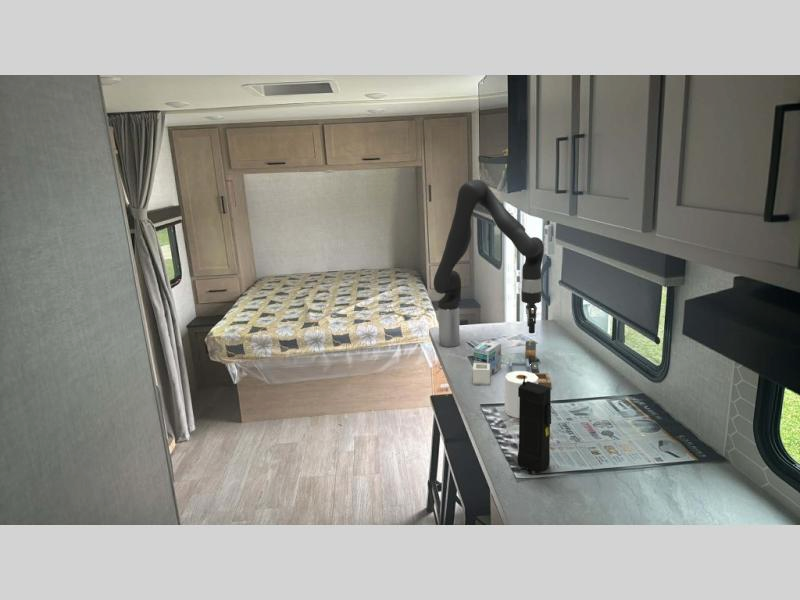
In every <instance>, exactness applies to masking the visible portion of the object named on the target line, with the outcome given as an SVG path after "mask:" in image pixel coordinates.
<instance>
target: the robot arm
mask: <svg viewBox="0 0 800 600" xmlns="http://www.w3.org/2000/svg"><path fill="white" fill-rule="evenodd" d="M478 204H479V205H481V207H484V208H485V210H487V211H488V212H489V214H490V215H491V217H492V218H493V221H494V223H495V225H496V227H497V228H498V229H499V230H500V231H501V233H503V234H504V235H505V236H506V237H507V238H508V239H509V241H511V242H512V244H513V245H514V246H515V248H516V250H517V251H518V252H519V253H520V254H521V255H522V256H524V257H525V259H524V260H525V261H524V263H523V265H522V269H521V270H522V277H521V279H522V280H521V291H520V292H521V295H520V296H521V299H520V300H521V302H522V303H523V304H526V305H525V314H526V318H527V319H526V320H527V323H526V324H527V327H528V333H529V334H535V332H536V324H537V311H538V310H537V309H538V307H537V305H536V304H539V303H541V302H542V292H543V291H542V263H543V258H544V252H545V248H544V242H543V241H542V239H541V238H539V237H535V236H532V237H531V236H529V234H528V233H527V232H526V228H525V226H524V225H523V224H522V223H521V222H520V221H518V220H517V218H515V217H514V216H513V215H512V214H511V213H510V211H508V210H507V209H506V207H505V206H504V205H503V204H502V203H501V201H500V200H499V199H498V198H497V197H496V196H495V194H494V192H493V191H492V190H491V188H490V187H489V186H488V185H487V184H486V183H485V182H484V181H483V180H481V179H474V180H469V181H468V182H464V183H463V184H462V185H461V186H460V188H459V190H458V194H457V199H456V206H455V210H454V214H453V217H452V222H451V226H450V228H449V232H448V236H447V238H446V243H445V247H444V250H443V252H442V257H441V259H440V263H439V264H438V267H437V270H436V271H435V275H434V277H433V288H434V290H435V292H436V293H438V294H443V296H442V298H440V299H439V300H438V302H437V312H438V316H437V317H438V343H439V345H440V346H441V347H445V348H453V347H457V346H459V345H460V342H461V341H460V340H461V339H460V336H461V335H460V302H461V295H462V281H461V279H462V278H461V276H460V274H459V272H458V271H456V270H453V269H454V268H455V266H456V265H457V263H459V261H460V260H461V259H462V258H463V257H464V255H466V253H467V251H468V249H469V246H470V242H471V239H472V226H471V218H472V215H473V213H474V210H475V208H476V205H478Z"/></svg>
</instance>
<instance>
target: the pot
mask: <svg viewBox="0 0 800 600" xmlns="http://www.w3.org/2000/svg"><path fill="white" fill-rule="evenodd" d="M472 385H474V386H475V385H476V386H490V385H491V376H490V364H484V363H474V362H473V366H472Z"/></svg>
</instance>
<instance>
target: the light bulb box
mask: <svg viewBox="0 0 800 600" xmlns="http://www.w3.org/2000/svg"><path fill="white" fill-rule="evenodd" d="M473 363H484V364H490V377H491V376H493V375H494V374H496V373H497V372H499V371H500V370H501V369H502V343H501V342H497V341H490V340H485V341H483V342H481V343H480V344H479V345H476V346H475V347H473Z"/></svg>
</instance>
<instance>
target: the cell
mask: <svg viewBox="0 0 800 600" xmlns="http://www.w3.org/2000/svg"><path fill="white" fill-rule="evenodd" d="M524 352H525V353H524V354H525V356H524V357H525V358H524V359H525V360H524V361H525V362H526V359H528V360H529V364H531V362H537V361H536V357H537V355H536V354H537V342H536V341H535V340H526V341H525V349H524Z"/></svg>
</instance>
